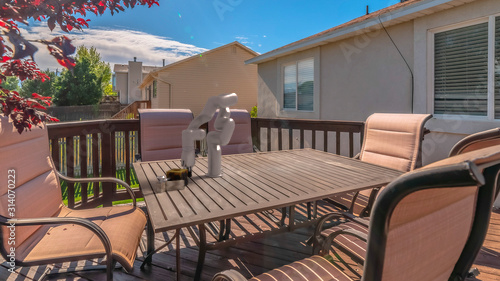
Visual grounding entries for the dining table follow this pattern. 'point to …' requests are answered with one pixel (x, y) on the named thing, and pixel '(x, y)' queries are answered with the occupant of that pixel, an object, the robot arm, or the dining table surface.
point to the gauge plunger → (162, 178)
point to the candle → (178, 175)
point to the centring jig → (170, 186)
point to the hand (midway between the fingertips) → (189, 176)
